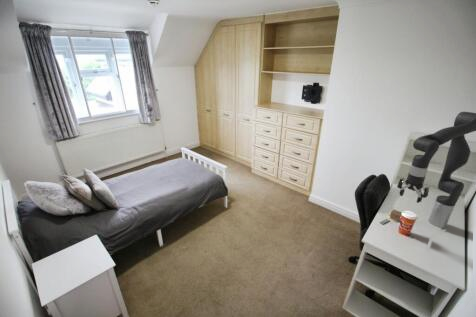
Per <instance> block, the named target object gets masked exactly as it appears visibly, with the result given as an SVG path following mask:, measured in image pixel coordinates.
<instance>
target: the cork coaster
mask: <svg viewBox="0 0 476 317" xmlns="http://www.w3.org/2000/svg"><path fill="white" fill-rule="evenodd" d="M390 215H391V214H388V215H387V219H388V220H390V221H392V222H395V223H400V221H401V217H400V219H399V221H395V220H393V219H390Z"/></svg>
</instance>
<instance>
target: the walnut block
mask: <svg viewBox="0 0 476 317" xmlns="http://www.w3.org/2000/svg"><path fill="white" fill-rule="evenodd" d="M402 212H403V211H400V210H397V209H393V208H392V211H391V212H390V214H389V215H390V219H393V220H395V221H399V219H400V218H401V217H402ZM390 219H389V220H390Z"/></svg>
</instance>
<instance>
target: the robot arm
mask: <svg viewBox="0 0 476 317" xmlns="http://www.w3.org/2000/svg"><path fill="white" fill-rule="evenodd" d="M473 132H476V112H470V111H460V112H459V113H458V114H457V115H456V117H455V119H454V122H453V126H449V127H445V128H441V129H439V130H437V131H436V132H434V133H431V134H427V135H422V136H419V137H418V138H416V139H415V140H414V142H413V144H412V147H413V148H414V150H416V151H420V152H423V153H424V154H415V155H414V156H413V158H412V162H411V165H410V168H409V170H408V174H407V178H403V177H401V178H400V179H399V181H398V184H397V188H398V189H400V190H399V196H401V197H402V196H404V194H405V191H406V189H408V190H410V191H413V192H415V193H416V194H417V200H416V203H417V204H419V203H421V202H422V200H423V199H425V198H427V197H428V195H429V191H430V186H425V185H424V182H425V179H426V176H427V173H428V167H429V165H430V162H431V160H432V158H433V157H434V156H435V155H436V154H437V152H438V150H439V148H440V146H442V145H444V144H446V143H448V142H449V141H450V144H449V148H448V151H447V155H446V160H445V163H444V167H443V170H442V173H441V176H440V177H439V180H438V184H437V189H438V190H439V191H441V192H443V193H446V194H447V195H437V197H436V199H435V200H434V204H433V207H432V210H431V212H430V215H429V217H428V219H427V221H428V223H429V224H430V225H432V226H433V227H437V228H440V229H441V230H444V229H446V228H447V225H448V223H449V221H450V219H451V216H452V214H453V212H454V208H455V206H456V204H457V203H458V200H459V199H460V196H461V195H462V193H463V190H464V188H465V184H464V182H461V181H459V180H456V179H453V178H451V177H452V174H454V173H455V172H456V171H457V170H459V169H460V168H462V167H464V166H465V165H466V164H467V163H468V162H469V159H470V155H471V148H470V146H469V144H468V142H467V139H466V136H465V135H467V134H470V133H473ZM404 183H405V185H404V186H403V184H404Z"/></svg>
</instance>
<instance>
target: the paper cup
mask: <svg viewBox="0 0 476 317" xmlns="http://www.w3.org/2000/svg"><path fill="white" fill-rule="evenodd" d="M401 212H402V214H401V217H400V218H401V221H400V222H399V227H398V233H399V234H400V235H403V236H406V237H407V236H409V235H410V234H411V232H412V230H413V227H414V225H415V222H416V220H418V218H419V217H418V216H417V214H416V213H415V212H413V211H410V210H404V211H401Z"/></svg>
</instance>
